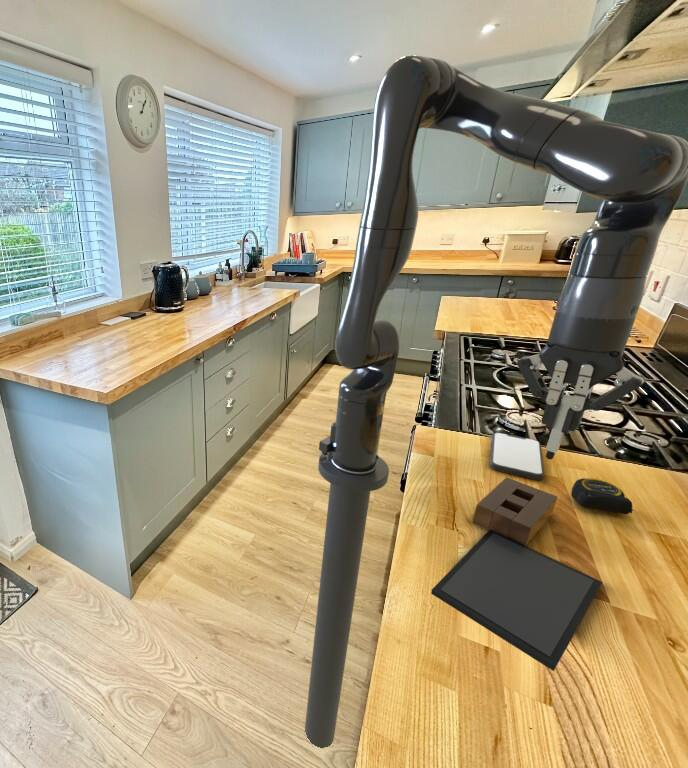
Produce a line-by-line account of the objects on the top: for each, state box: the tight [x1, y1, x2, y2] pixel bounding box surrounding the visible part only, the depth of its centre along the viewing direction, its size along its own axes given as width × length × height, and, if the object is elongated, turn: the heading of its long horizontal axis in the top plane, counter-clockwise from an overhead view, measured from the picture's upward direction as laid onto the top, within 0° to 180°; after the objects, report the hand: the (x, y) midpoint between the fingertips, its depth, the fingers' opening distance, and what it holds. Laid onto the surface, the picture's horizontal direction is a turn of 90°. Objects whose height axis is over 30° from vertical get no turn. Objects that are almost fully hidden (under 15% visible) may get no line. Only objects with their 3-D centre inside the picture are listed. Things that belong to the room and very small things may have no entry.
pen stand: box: [471, 476, 559, 546], centre depth 73 cm, size 8×13×4 cm, turn 125°
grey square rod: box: [544, 393, 574, 460], centre depth 60 cm, size 1×1×10 cm
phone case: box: [489, 432, 545, 481], centre depth 91 cm, size 9×2×16 cm
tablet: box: [430, 529, 603, 672], centre depth 60 cm, size 14×20×1 cm
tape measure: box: [570, 477, 634, 515], centre depth 75 cm, size 7×7×4 cm
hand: (557, 428), depth 60 cm, fingers closed on grey square rod, 1 cm apart
